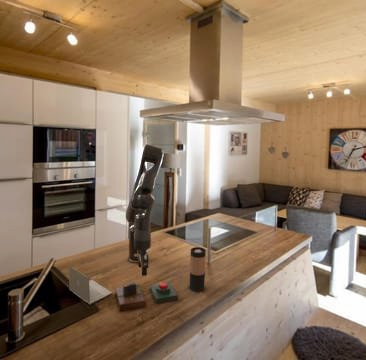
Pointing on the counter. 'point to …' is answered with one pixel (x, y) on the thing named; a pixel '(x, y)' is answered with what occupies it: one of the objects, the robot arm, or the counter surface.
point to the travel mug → (197, 268)
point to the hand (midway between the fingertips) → (142, 271)
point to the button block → (163, 293)
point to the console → (130, 299)
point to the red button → (163, 285)
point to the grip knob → (129, 289)
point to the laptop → (86, 287)
